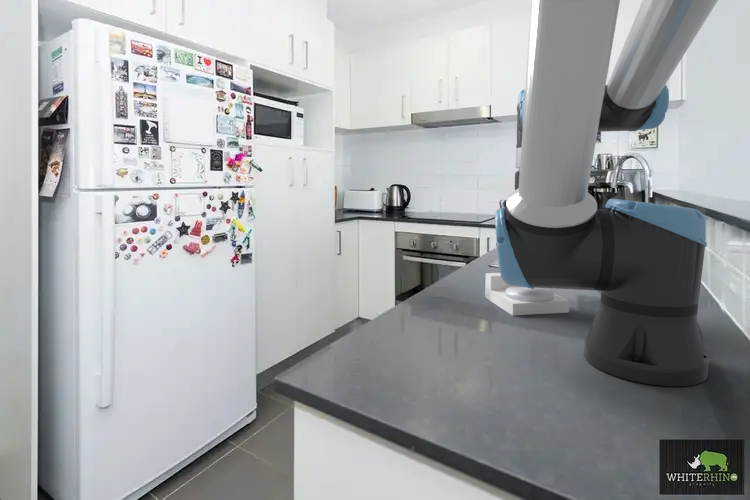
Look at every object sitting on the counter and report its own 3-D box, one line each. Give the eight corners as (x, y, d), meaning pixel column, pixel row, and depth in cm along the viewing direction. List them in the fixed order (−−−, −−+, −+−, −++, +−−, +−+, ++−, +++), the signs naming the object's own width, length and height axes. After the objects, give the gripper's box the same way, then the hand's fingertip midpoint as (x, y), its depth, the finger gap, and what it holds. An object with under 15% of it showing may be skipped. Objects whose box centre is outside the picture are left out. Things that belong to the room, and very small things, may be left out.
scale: (569, 312, 87) (570, 285, 86) (512, 315, 85) (513, 287, 84) (534, 294, 101) (535, 271, 100) (485, 297, 99) (485, 273, 98)
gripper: (570, 169, 92) (564, 276, 95) (480, 170, 89) (477, 279, 92) (592, 168, 84) (585, 283, 88) (495, 169, 82) (491, 288, 85)
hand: (530, 281), depth 90 cm, fingers closed on soda can, 7 cm apart
